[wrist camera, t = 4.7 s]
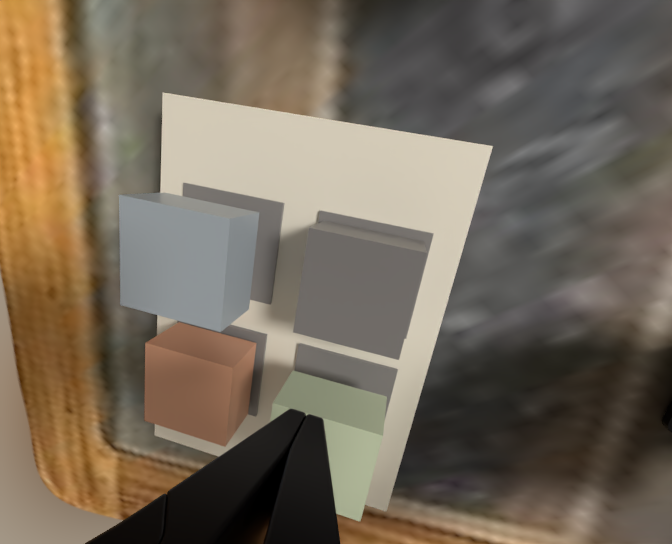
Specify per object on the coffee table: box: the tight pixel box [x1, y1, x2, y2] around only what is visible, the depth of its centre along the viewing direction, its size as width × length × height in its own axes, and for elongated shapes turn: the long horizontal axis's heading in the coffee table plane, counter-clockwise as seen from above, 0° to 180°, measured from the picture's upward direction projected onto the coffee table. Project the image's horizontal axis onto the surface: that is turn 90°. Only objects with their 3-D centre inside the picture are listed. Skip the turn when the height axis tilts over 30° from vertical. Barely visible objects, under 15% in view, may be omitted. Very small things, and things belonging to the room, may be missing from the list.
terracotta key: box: [144, 322, 256, 447], centre depth 18 cm, size 4×4×2 cm
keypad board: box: [155, 93, 493, 511], centre depth 19 cm, size 15×20×2 cm
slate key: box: [119, 192, 259, 332], centre depth 14 cm, size 4×4×2 cm
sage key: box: [270, 371, 387, 521], centre depth 15 cm, size 4×4×2 cm
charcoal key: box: [293, 221, 427, 360], centre depth 15 cm, size 4×4×2 cm
